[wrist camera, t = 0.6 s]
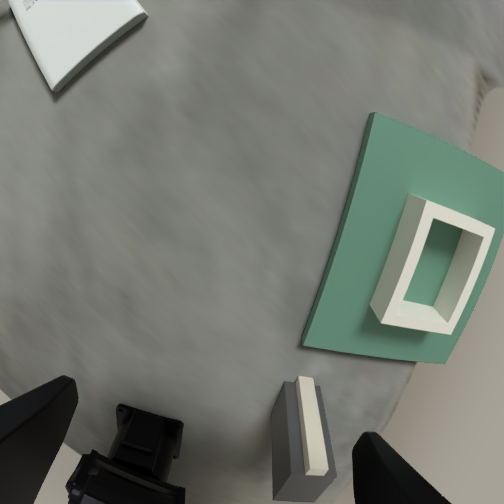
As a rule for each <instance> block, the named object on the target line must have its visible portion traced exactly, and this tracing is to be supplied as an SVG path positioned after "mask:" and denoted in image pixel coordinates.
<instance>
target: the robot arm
mask: <svg viewBox="0 0 504 504" xmlns="http://www.w3.org/2000/svg"><path fill="white" fill-rule="evenodd" d="M77 404H78V392H77V387H76V382H75V380H74V379H73V378H70V377H68V376H65V375H62V376H60V377H58V378H56V379H54V380H52V381H50V382H48V383H46V384H44V385H41V386H39V387H37V388H35V389H33V390H31V391H29V392H27V393H25V394H23V395H21V396H19V397H17V398H15V399H13V400H11V401H8V402H7V403H4V404H2V405H0V504H33V503H34V501H35V499H36V497H37V495H38V492H39V490H40V488H41V486H42V484H43V482H44V480H45V478H46V475H47V473H48V471H49V469H50V467H51V465H52V463H53V461H54V459H55V457H56V455H57V453H58V451H59V449H60V447H61V445H62V443H63V441H64V438H65V436H66V433H67V430H68V428H69V425H70V422H71V419H72V417H73V414H74V412H75V409H76V406H77ZM116 415H117V427H118V433H117V435H116V437H115V440H114V442H113V444H112V447H111V449H110V451H109V454H108V456H107V457H105V456H103V455H101V454H99V453H98V452H97V451H95V450H93V449H92V451H91V453H90V454H83V455H82V457H81V459H80V461H79V463H78V465H77V467H76V469H75V471H74V472H73V474H72V475H71V477H70V479H69V480H68V482H67V484H66V486H65V487H66V489H67V492H68V493H69V495H68V498H69V502H68V504H185V488H183V487H180V486H179V487H177V486H174V485H172V484H169V483H166V482H167V478H168V474H169V470H170V466H171V462H172V459H178V457H179V452H180V445H181V439H182V432H183V426H184V424H183V423H182V422H181V421H178V420H174V419H170V418H167V417H163V416H159V415H156V414H152V413H149V412H145V411H142V410H139V409H135V408H132V407H129V406H126V405H123V404H118V405H117V407H116ZM352 462H353V488H354V498H355V504H451V503H450V502H449V501H448V500H447V499H446V498H445V497H444V496H442V495H441V494H440V493H439V492H438V491H437V490H436V489H435V488H434V487H433V486H432V485H431V484H429V483H428V482H427V481H426V480H425V479H424V478H423V477H422V476H421V475H420V474H419V473H418V472H417V471H416V470H415V469H414V468H413V467H412V466H410V465H409V464H408V463H407V462H406V461H405V460H404V459H403V458H402V457H401V456H400V455H399V454H398V453H397V452H396V451H395V450H394V449H393V448H392V447H391V446H390V445H389V444H388V443H387V442H386V441H385V440H384V439H383V438H382V437H381V436H380V435H379V434H378V433H376V432H364V433H362V435H361V436H360V438H359V439H358V441H357V442H356V444H355V445H354V447H353V450H352Z"/></svg>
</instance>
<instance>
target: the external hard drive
mask: <svg viewBox="0 0 504 504" xmlns="http://www.w3.org/2000/svg"><path fill="white" fill-rule="evenodd" d="M8 2H9V4H10V6H11V9H12V11H13V13H14V16H15V18H16V20H17V23H18V25H19V27H20V29H21V31H22V33H23V35H24V37H25V40H26V42H27V44H28V46H29V48H30V50H31V52H32V54H33V56H34V58H35V60H36V62H37V64H38V66H39V68H40V70H41V72H42V73H43V75H44V77H45V79H46V81H47V83H48V85H49V87H50V88H51V90H52V91H56V92H59V91H60V90H61V89H62V88H63V87H64V86H65V85H66V84H67V83H68V82H69V81H70V80H71V79H72V78H73V77H74V76H75V75H76V74H77V73H79V72H80V71H81V70H82V69H83V68H84V67H85V66H86V65H87V64H88V63H90V62H91V61H92V60H93V59H94V58H95V57H96V56H98V55H99V54H100V53H101V52H102V51H103V50H105V49H106V48H107V47H108V46H109V45H111V44H112V43H113V42H114V41H116V40H117V39H118V38H119V37H121V36H122V35H123V34H125V33H126V32H127V31H129V30H130V29H131V28H133V27H134V26H135V25H137V24H138V23H139V22H141V21H142V20H144V19H145V18H147V17H148V14H147V13H146V12H145V10H144V9H143V8H142V6H141V5H140V4H139V2H138V1H137V0H8Z"/></svg>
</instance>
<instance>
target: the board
mask: <svg viewBox="0 0 504 504" xmlns="http://www.w3.org/2000/svg"><path fill="white" fill-rule="evenodd" d="M503 234H504V172H502V171H500V170H499V169H497V168H495V167H493V166H492V165H490V164H488V163H486V162H484V161H482V160H481V159H479V158H477V157H475V156H473V155H471V154H469V153H468V152H466V151H464V150H462V149H460V148H458V147H456V146H454V145H452V144H450V143H448V142H445V141H443V140H441V139H439V138H437V137H435V136H433V135H430V134H428V133H426V132H424V131H421V130H419V129H417V128H414V127H412V126H410V125H407V124H405V123H402V122H400V121H397V120H395V119H392V118H390V117H387V116H385V115H382V114H379V113H377V112H373V113H370V115H369V119H368V123H367V128H366V132H365V136H364V140H363V144H362V148H361V152H360V155H359V159H358V163H357V167H356V170H355V174H354V178H353V181H352V185H351V189H350V192H349V196H348V199H347V203H346V206H345V209H344V213H343V216H342V219H341V223H340V226H339V229H338V233H337V236H336V239H335V242H334V245H333V249H332V252H331V255H330V258H329V261H328V264H327V267H326V270H325V273H324V276H323V279H322V282H321V285H320V288H319V291H318V294H317V297H316V299H315V302H314V305H313V308H312V311H311V314H310V316H309V319H308V322H307V325H306V327H305V330H304V333H303V335H302V342H303V345H304V346H309V347H315V348H321V349H327V350H333V351H340V352H346V353H353V354H360V355H367V356H374V357H382V358H390V359H398V360H407V361H416V362H426V363H437V364H445V363H446V361H447V359H448V357H449V356H450V354H451V352H452V350H453V348H454V347H455V345H456V343H457V341H458V339H459V337H460V336H461V333H462V332H463V330H464V328H465V326H466V324H467V322H468V320H469V318H470V316H471V313H472V311H473V309H474V307H475V305H476V303H477V301H478V298H479V296H480V294H481V291H482V289H483V287H484V285H485V282H486V280H487V277H488V275H489V272H490V270H491V267H492V265H493V262H494V260H495V257H496V254H497V251H498V248H499V245H500V243H501V240H502V237H503Z"/></svg>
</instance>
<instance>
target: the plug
mask: <svg viewBox="0 0 504 504" xmlns="http://www.w3.org/2000/svg"><path fill="white" fill-rule="evenodd" d="M271 419H272V480H273V500H276V501H291V502H315V500H316V499H317V498H318V497H319V496H320V495H321V494H322V493H323V492H324V490H325V489H326V488H327V487H328V486H329V485H330V484H331V482H332V481H333V480H334V479H335V478H336V477H337V473H336V468H335V462H334V457H333V451H332V446H331V440H330V435H329V430H328V425H327V420H326V414H325V409H324V404H323V399H322V394H321V390H320V386H314V382H313V378H310V377H303V376H298V378H297V381H296V383H292V382H286V381H285V382H284V384H283V387H282V389H281V392H280V394H279V396H278V399H277V401H276V404H275V406H274V408H273V411H272V413H271Z"/></svg>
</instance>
